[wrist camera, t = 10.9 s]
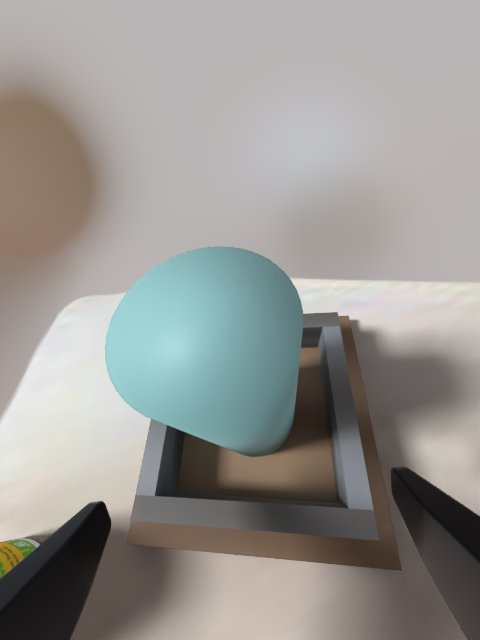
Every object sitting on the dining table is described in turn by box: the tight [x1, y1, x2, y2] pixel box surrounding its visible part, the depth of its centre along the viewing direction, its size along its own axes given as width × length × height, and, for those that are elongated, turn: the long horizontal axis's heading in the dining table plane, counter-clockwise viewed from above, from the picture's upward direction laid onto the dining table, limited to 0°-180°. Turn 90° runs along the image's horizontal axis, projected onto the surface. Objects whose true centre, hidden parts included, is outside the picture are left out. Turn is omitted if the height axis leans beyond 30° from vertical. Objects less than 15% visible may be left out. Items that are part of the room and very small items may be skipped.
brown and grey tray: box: [127, 312, 402, 571], centre depth 16 cm, size 14×14×4 cm
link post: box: [105, 247, 303, 457], centre depth 11 cm, size 5×5×12 cm
